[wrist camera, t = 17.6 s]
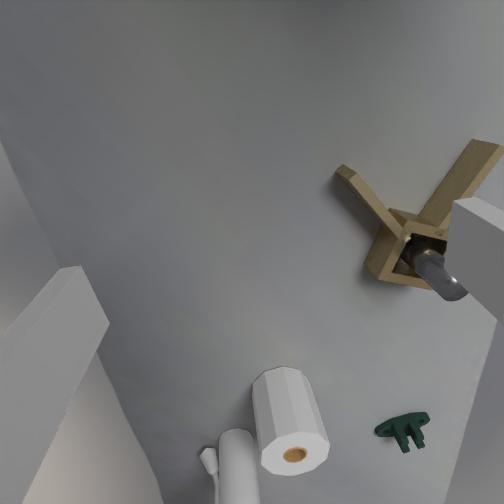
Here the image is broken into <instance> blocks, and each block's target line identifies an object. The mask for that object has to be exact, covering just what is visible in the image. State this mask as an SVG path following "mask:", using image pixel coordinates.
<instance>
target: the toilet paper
mask: <svg viewBox="0 0 504 504" xmlns="http://www.w3.org/2000/svg"><path fill="white" fill-rule="evenodd" d="M252 400H253V408H254V416H255V423H256V431H257V438H258V446H259V454H260V461H261V465H262V466H263V467H265V468H266V469H267V470H268V471H270V472H271V473H272V474H278V475H288V476H293V475H297V474H301V473H304V472H308V471H311V470H313V469H314V468H316V467H317V466H318V465H319V464H321V463H322V462H323V461H325V460H326V459H327V456H328V451H329V447H330V444H329V441H328V438H327V435H326V432H325V429H324V426H323V422H322V419H321V416H320V413H319V410H318V407H317V404H316V401H315V398H314V395H313V392H312V389H311V386H310V383H309V380H308V379H307V378H306V377H305V375H304V374H303V373H302V372H301V371H300V370H298V369H293V368H288V367H283V366H282V367H279V368H276V369H272V370H269V371H265V372H264V373H263V374H262V375H261V376H260V377H259V378H258V379H257V380H256V381H255V382H254V383H253V387H252Z"/></svg>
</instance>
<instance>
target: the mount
mask: <svg viewBox="0 0 504 504" xmlns="http://www.w3.org/2000/svg"><path fill="white" fill-rule="evenodd" d="M429 421H430V418H429V416H428V415H427V413H425V412H416V413H408V414H405V415H401V416H398V417H395V418H391V419H389V420H387V421H385V422H384V423H382V424H380V425H378V426H377V427H376V428H375V432H376V434H377V436H378V437H393V436H394V437H395V439H396V440H397V442H398V444H399V446H400V448H401V450H402V452H403V453H407V452H410V449H409V447H408V444H409V441H408V438H407V436H411V437H412V439H413V441H414V443H415V444H416V446H417V448H418V449H420V448H424V447H425V444H424V442H423V440H424V435H423V433H422V431H421V430H420V427H421V426H423V425H425V424H427V423H428V422H429Z"/></svg>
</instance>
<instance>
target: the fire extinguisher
mask: <svg viewBox="0 0 504 504" xmlns="http://www.w3.org/2000/svg"><path fill="white" fill-rule="evenodd" d="M200 459H201V461H202V462H203V464H204V466H205V468H206V470H207V472H208V474H211V475H212V477H213V480H214V484H215V500H214V504H260V497H259V488H258V480H257V471H256V463H255V454H254V446H253V437H252V435H251V434H250V433H249V431H247V430H243V429H240V428H237V429H232V430H228V431H226V432H225V433H223V434H222V435H220V439H219V466H218V461H217V456H216V450H215V448H206V449H205V450H204V451H203V453H202V454H201V455H200ZM218 471H219V476H218V473H217V472H218Z"/></svg>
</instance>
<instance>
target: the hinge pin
mask: <svg viewBox="0 0 504 504" xmlns="http://www.w3.org/2000/svg"><path fill="white" fill-rule="evenodd" d="M399 257H400V258H401V259H402V260H403V261H404V262H405V263H406V264H407V265H409V266H410V267H411V268H412V269H413V270H414V271H415V272H416V273H417V274H418V275H419V276H420V277H421V278H422V279H423V280H424V281H425V282H426V283H427V284H428V285H430V286H431V287H432V288H433V289H434V290H435V291H436V292H437V293H438V294H439V295H440V296H441V297H442V298H443V299H444V300H446V301H457V300H459V299H461V298H463V297H464V296H466V295H467V294H468V293H469V292H468V291H467V290H466V289H465V288H464V287H463V286H462V285H461V284H460V283H459V282H457V281H456V280H455V279H454V278H453V277H452V276H451V275H450V274H449V273H448V272H447V271H446V270H445V269H444V262H445V258H444V257H443V256H442V255H441V254H439V253H438V252H437V251H435V250H434V249H433V248H431V247H430V246H429V245H428V244H426V243H425V242H424V241H422V240H421V239H420V238H418V237H417V236H416V235H415V234H413V233H411V235H410V239H409V240H408V241H407V243H406V245H405V247H404V249H403V251H402V252H401V254H400V256H399Z"/></svg>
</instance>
